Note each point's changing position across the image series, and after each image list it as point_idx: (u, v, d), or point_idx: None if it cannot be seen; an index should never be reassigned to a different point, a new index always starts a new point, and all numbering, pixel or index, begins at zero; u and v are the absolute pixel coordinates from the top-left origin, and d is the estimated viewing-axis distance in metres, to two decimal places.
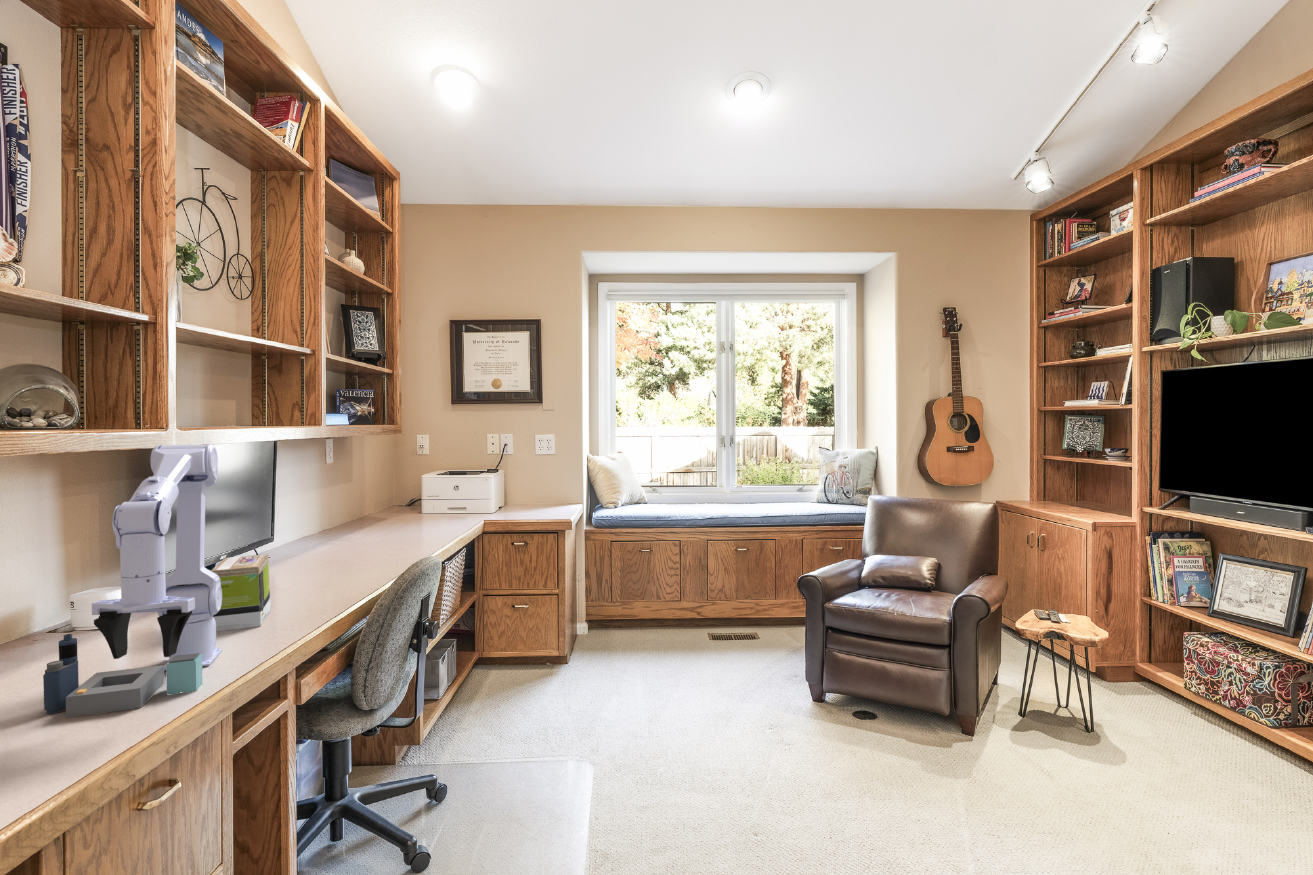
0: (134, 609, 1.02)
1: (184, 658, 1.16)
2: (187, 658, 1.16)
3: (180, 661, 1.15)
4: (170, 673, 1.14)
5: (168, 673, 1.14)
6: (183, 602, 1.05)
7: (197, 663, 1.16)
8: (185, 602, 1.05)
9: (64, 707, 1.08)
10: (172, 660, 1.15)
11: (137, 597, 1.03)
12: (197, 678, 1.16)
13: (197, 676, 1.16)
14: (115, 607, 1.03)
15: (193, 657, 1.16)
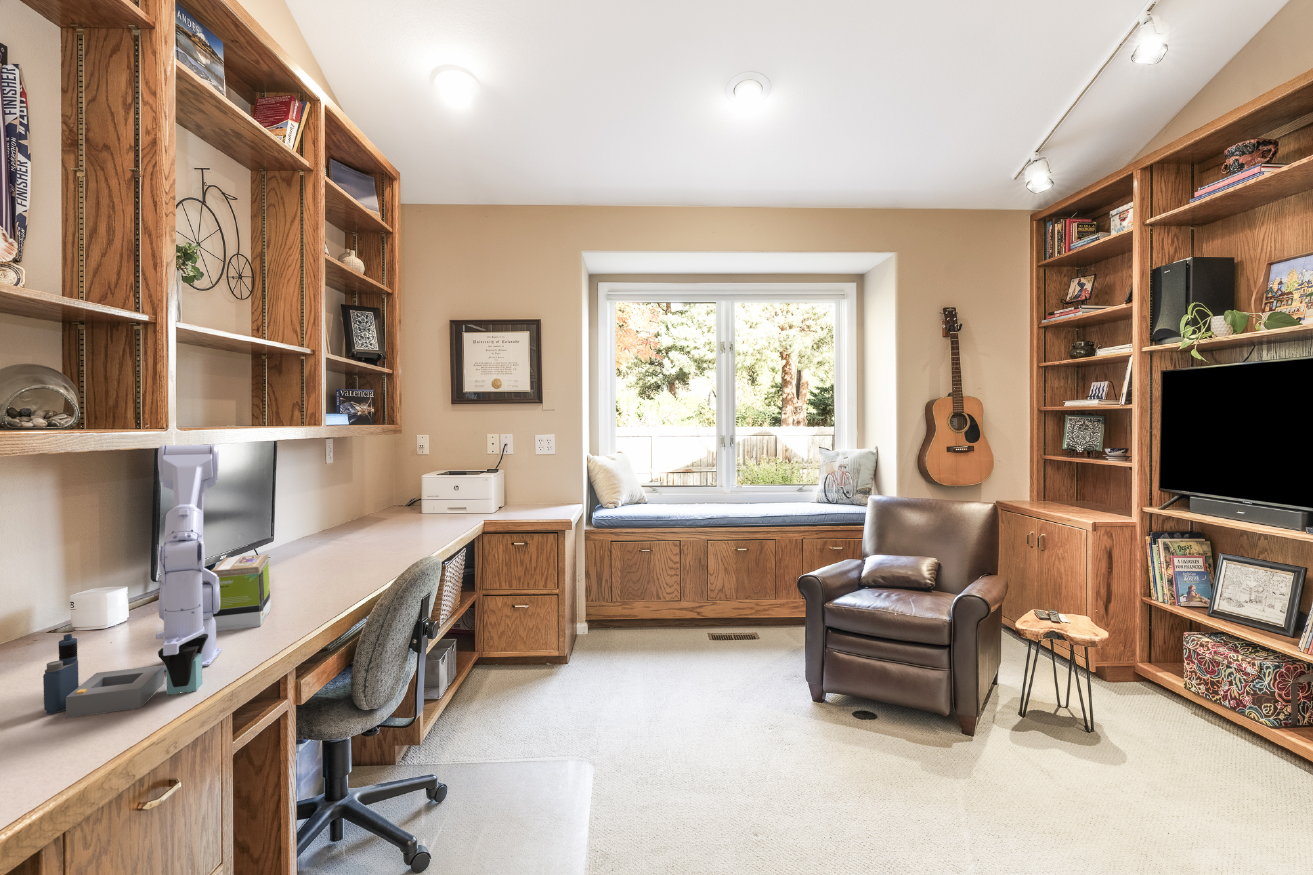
0: (157, 637, 1.14)
1: None
2: None
3: None
4: None
5: (168, 672, 1.14)
6: None
7: (197, 663, 1.16)
8: (163, 645, 1.09)
9: (64, 707, 1.08)
10: None
11: (164, 627, 1.14)
12: (197, 678, 1.16)
13: (197, 676, 1.16)
14: None
15: None
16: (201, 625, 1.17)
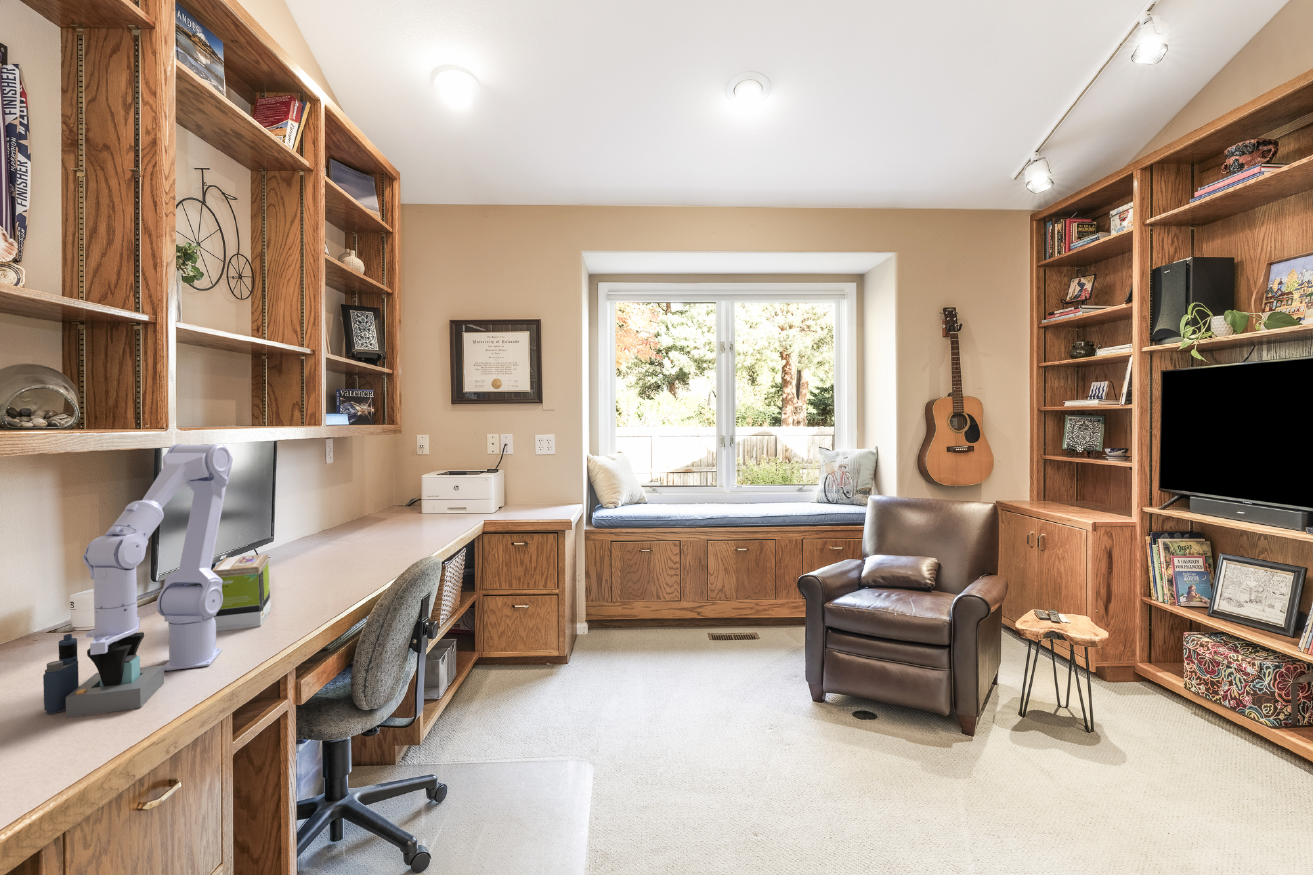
0: (87, 635, 1.09)
1: None
2: None
3: None
4: None
5: None
6: None
7: (133, 665, 1.12)
8: None
9: (64, 707, 1.08)
10: None
11: None
12: (133, 681, 1.12)
13: (133, 679, 1.12)
14: None
15: (129, 659, 1.12)
16: (135, 623, 1.12)
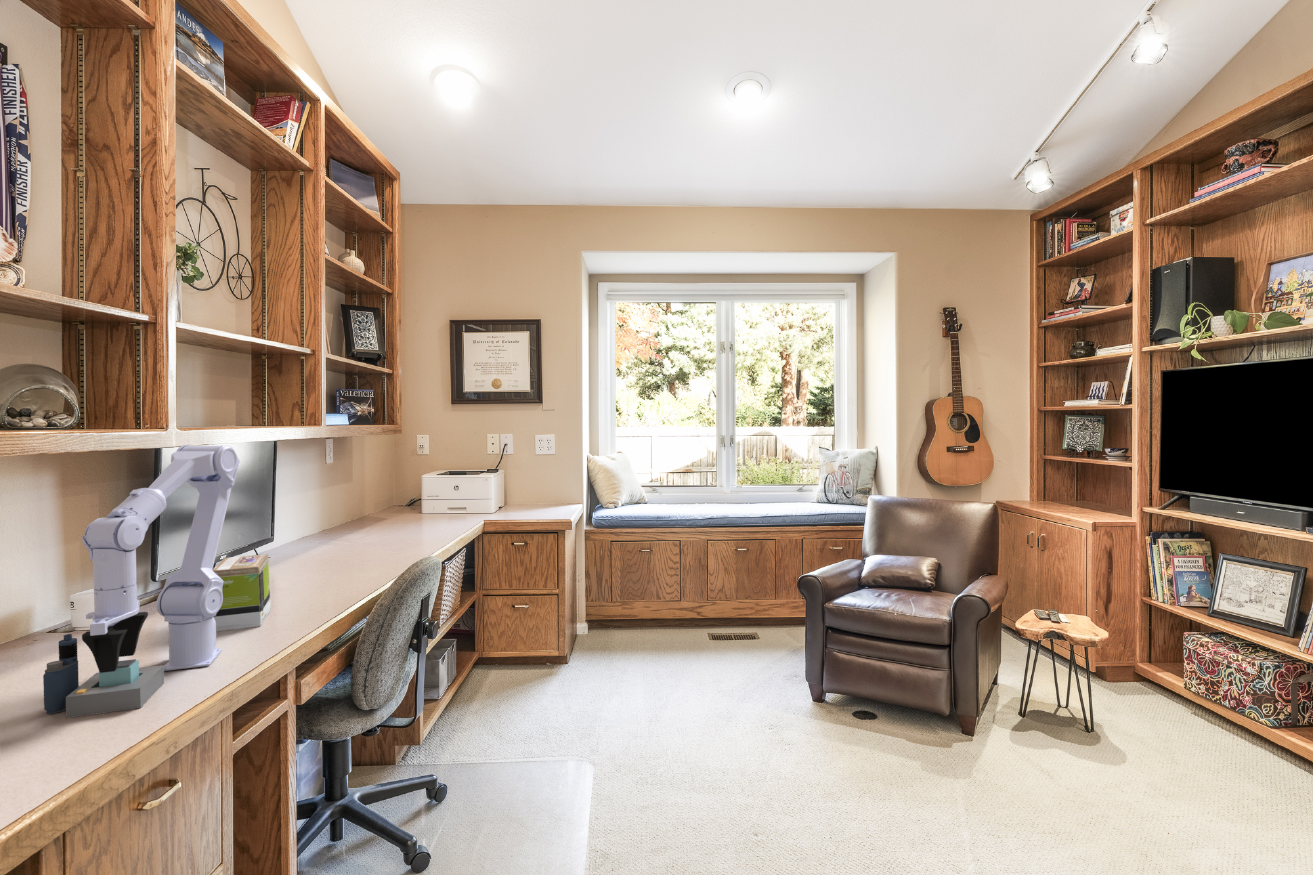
0: (87, 617, 1.09)
1: (118, 664, 1.11)
2: (121, 664, 1.11)
3: None
4: (103, 680, 1.10)
5: (101, 680, 1.10)
6: None
7: (132, 670, 1.12)
8: None
9: (64, 707, 1.08)
10: None
11: None
12: None
13: None
14: None
15: (128, 663, 1.12)
16: (134, 605, 1.12)
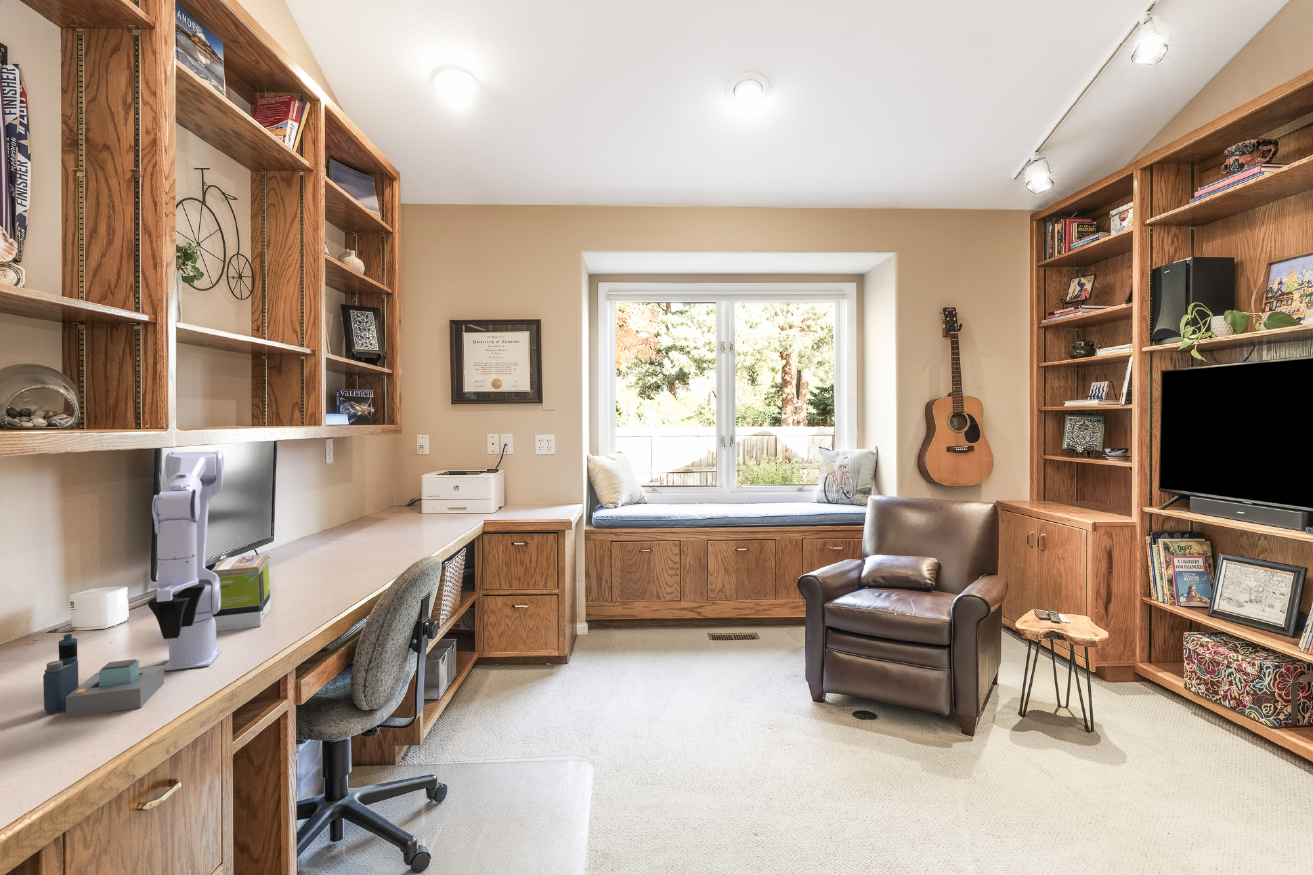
0: (151, 586, 1.14)
1: (118, 664, 1.11)
2: (121, 664, 1.11)
3: (114, 668, 1.10)
4: (103, 680, 1.10)
5: (101, 680, 1.10)
6: (157, 591, 1.10)
7: (132, 670, 1.12)
8: (157, 591, 1.09)
9: (64, 707, 1.08)
10: (105, 667, 1.10)
11: (158, 576, 1.14)
12: None
13: None
14: None
15: (128, 663, 1.12)
16: (195, 575, 1.17)
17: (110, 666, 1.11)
